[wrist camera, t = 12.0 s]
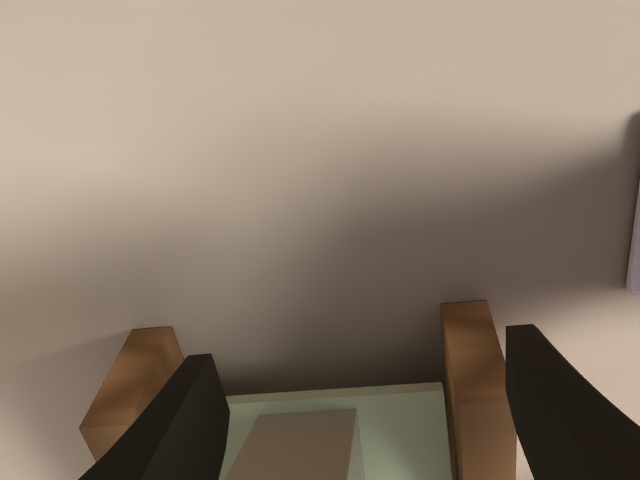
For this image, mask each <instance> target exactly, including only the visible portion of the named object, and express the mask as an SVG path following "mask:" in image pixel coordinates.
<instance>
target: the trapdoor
mask: <svg viewBox="0 0 640 480" xmlns="http://www.w3.org/2000/svg"><path fill="white" fill-rule="evenodd" d="M225 397H226V400H227V403H228V406H229V409H230V419H229V429H228V437H227V444H226V451H225V455H224V460H223V464H222V468H221V472H220V476H219V480H225V478H226V476H227V474H228V472H229V470H230V469H231V467H232V465H233V463H234V461H235V459H236V457H237V455H238V453H239V451H240V450H241V448H242V446H243V444H244V442H245V440H246V438H247V436H248V434H249V432H250V431H251V429H252V427H253V425H254V423H255V421H256V419H257V417H258V415H264V414H280V413H295V412H310V411H326V410H341V409H357V414H358V423H359V431H360V440H361V448H362V457H363V465H364V474H365V480H452V474H451V463H450V453H449V442H448V432H447V421H446V410H445V400H444V390H443V386H442V382H431V383H416V384H401V385H386V386H370V387H355V388H340V389H325V390H309V391H294V392H279V393H264V394H248V395H233V396H225Z"/></svg>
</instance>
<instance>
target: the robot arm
mask: <svg viewBox="0 0 640 480" xmlns="http://www.w3.org/2000/svg"><path fill="white" fill-rule="evenodd" d="M626 285H627V288H628V289H629V291H630V292H631V293H632V294H634V295H640V182H639V190H638V197H637V205H636V212H635V220H634V227H633V235H632V242H631V250H630V258H629V265H628V273H627V280H626ZM505 390H506V394H507V398H508V403H509V407H510V411H511V415H512V418H513V422H514V426H515V430H516V432H517V435H518V438H519V441H520V443H521V446H522V448H523V451H524V454H525V456H526V459H527V462H528V464H529V467H530V469H531V472H532V475H533V477H534V480H640V426H638V425H637V424H636V423H635V422H633V421H632V420H631V419H630V418H629V417H627V416H626V415H625V414H624V413H623V412H621V411H620V410H619V409H618V408H617V407H616V406H615V405H613V404H612V403H611V402H610V401H609V400H608V399H607V398H605V397H604V396H603V395H602V394H601V393H600V392H599V391H598V390H597V389H596V388H595V387H594V386H592V385H591V384H590V383H589V382H588V381H587V380H586V379H585V378H584V377H583V376H582V375H581V374H580V373H579V372H578V371H577V370H576V369H575V368H574V367H573V366H572V365H571V364H570V363H569V362H568V361H567V360H566V359H565V358H564V357H563V356H562V355H561V354H560V352H559V351H558V350H557V349H556V348H555V347H554V346H553V345H552V344H551V343H550V342H549V341H548V339H547V338H546V337H545V336H544V335H543V334H542V333H541V331H540V330H539V329H538V328H537V327H536V326H534V325H533V324H527V325H516V326H506V372H505ZM229 419H230V409H229V406H228V403H227V400H226V397H225V394H224V391H223V388H222V385H221V381H220V378H219V375H218V372H217V369H216V366H215V363H214V360H213V357H212V354H201V355H190V356H187V358H186V359H185V360H184V361H183V362H182V364H181V365H180V366H179V367H178V369H177V370H176V371H175V372H174V374H173V375H172V376H171V377H170V379H169V380H168V381H167V382H166V384H165V385H164V386H163V387H162V389H161V390H160V391H159V392H158V394H157V395H156V396H155V397H154V399H153V400H152V401H151V402H150V404H149V405H148V406H147V407H146V408H145V410H144V411H143V412H142V413H141V414H140V416H139V417H138V418H137V419H136V420H135V422H134V423H133V424H132V425H131V426H130V427H129V428H128V429H127V430H126V432H125V433H124V434H123V435H122V436H121V437H120V438H119V439H118V440H117V442H116V443H115V444H114V445H113V446H112V447H111V448H110V449H109V450H108V451H107V452H106V453H105V454H104V455H103V456H102V457H101V458H100V459H99V460H98V461H97V462H96V463H95V464H94V465H93V466H92V467H91V468H90V469H89V470H88V471H87V472H86V473H85V474H84V475H83V476H82V477H80V478H79V479H78V480H219V476H220V472H221V468H222V464H223V460H224V455H225V451H226V444H227V437H228V429H229Z"/></svg>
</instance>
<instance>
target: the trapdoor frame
mask: <svg viewBox="0 0 640 480" xmlns="http://www.w3.org/2000/svg"><path fill="white" fill-rule="evenodd" d="M440 307H441V323H442V339H443V355H444V371H445V387H446V403H447V419H448V435H449V451H450V463H451V474H452V480H516V443H517V432H516V430H515V426H514V422H513V418H512V415H511V411H510V407H509V403H508V398H507V394H506V390H505V372H506V363H505V360H504V357H503V353H502V350H501V347H500V344H499V340H498V337H497V334H496V330H495V327H494V324H493V321H492V317H491V314H490V311H489V308H488V304H487V301H486V300H484V301H472V302H460V303H448V304H440ZM183 361H184V359H183V357H182V354H181V351H180V348H179V345H178V343H177V340H176V337H175V334H174V331H173V329H172V327H160V328H148V329H136V330H132V331H131V333H130V335H129V336H128V338H127V340H126V342H125V344H124V346H123V348H122V349H121V351H120V353H119V355H118V357H117V359H116V360H115V362H114V364H113V366H112V368H111V370H110V372H109V373H108V375H107V377H106V379H105V381H104V383H103V385H102V386H101V388H100V390H99V392H98V394H97V396H96V398H95V399H94V401H93V403H92V405H91V407H90V409H89V410H88V412H87V414H86V416H85V418H84V420H83V422H82V423H81V425H80V427H79V429H80V431H81V433H82V435H83V437H84V439H85V441H86V443H87V445H88V447H89V449H90V451H91V453H92V455H93V456H94V458H95V460H96V462H97V461H98V460H99V459H100V458H101V457H102V456H103V455H104V454H105V453H106V452H107V451H108V450H109V449H110V448H111V447H112V446H113V445H114V444H115V443H116V442H117V440H118V439H119V438H120V437H121V436H122V435H123V434H124V433H125V432H126V430H127V429H128V428H129V427H130V426H131V425H132V424H133V423H134V422H135V420H136V419H137V418H138V417H139V416H140V414H141V413H142V412H143V411H144V410H145V408H146V407H147V406H148V405H149V404H150V402H151V401H152V400H153V399H154V397H155V396H156V395H157V394H158V392H159V391H160V390H161V389H162V387H163V386H164V385H165V384H166V382H167V381H168V380H169V379H170V377H171V376H172V375H173V374H174V372H175V371H176V370H177V369H178V367H179V366H180V365H181V364H182V362H183Z"/></svg>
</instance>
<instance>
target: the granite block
mask: <svg viewBox="0 0 640 480" xmlns="http://www.w3.org/2000/svg"><path fill="white" fill-rule="evenodd" d="M225 480H365V474H364V465H363V457H362V448H361V440H360V431H359V423H358V414H357V409H341V410H326V411H310V412H295V413H280V414H264V415H258V417H257V419H256V421H255V423H254V425H253V427H252V429H251V431H250V432H249V434H248V436H247V438H246V440H245V442H244V444H243V446H242V448H241V450H240V451H239V453H238V455H237V457H236V459H235V461H234V463H233V465H232V467H231V469H230V470H229V472H228V474H227V476H226V478H225Z"/></svg>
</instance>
